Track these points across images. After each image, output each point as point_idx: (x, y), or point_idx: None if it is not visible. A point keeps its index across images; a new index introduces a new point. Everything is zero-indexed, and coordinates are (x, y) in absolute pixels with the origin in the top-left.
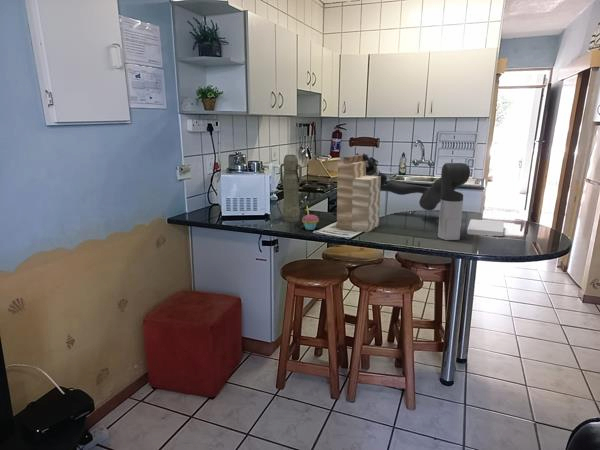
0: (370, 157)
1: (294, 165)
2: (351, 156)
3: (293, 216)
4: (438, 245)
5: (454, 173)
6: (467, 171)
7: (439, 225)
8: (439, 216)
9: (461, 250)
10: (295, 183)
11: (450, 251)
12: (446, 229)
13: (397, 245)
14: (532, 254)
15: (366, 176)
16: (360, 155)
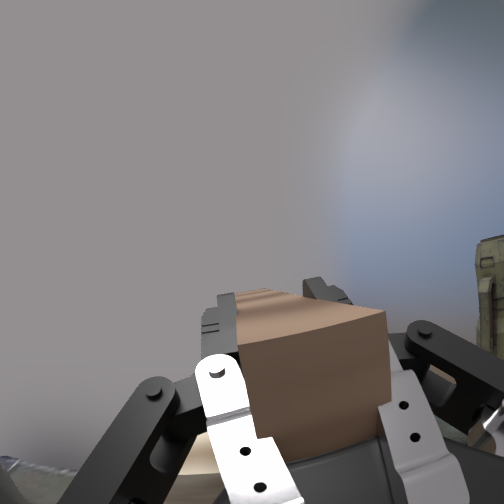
0: (163, 381)
1: (478, 280)
2: (249, 293)
3: (467, 436)
4: (52, 485)
5: None
6: None
7: (18, 496)
8: (6, 481)
9: (29, 470)
10: (478, 346)
11: (46, 467)
12: (15, 486)
13: None
14: None
15: (199, 445)
16: (236, 303)
